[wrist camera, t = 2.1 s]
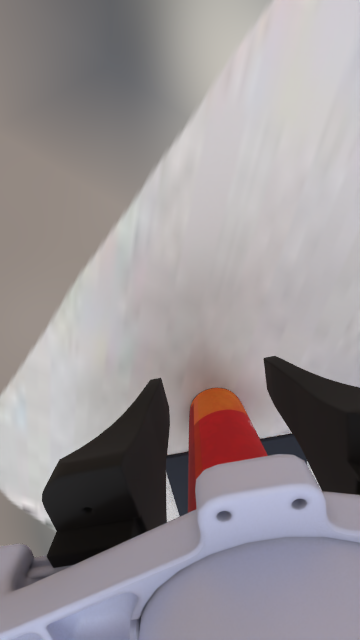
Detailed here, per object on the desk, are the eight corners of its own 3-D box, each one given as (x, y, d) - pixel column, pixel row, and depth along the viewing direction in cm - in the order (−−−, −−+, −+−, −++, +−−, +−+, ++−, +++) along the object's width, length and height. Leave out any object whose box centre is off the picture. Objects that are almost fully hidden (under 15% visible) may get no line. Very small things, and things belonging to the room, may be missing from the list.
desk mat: (303, 431, 28) (304, 434, 27) (311, 548, 34) (312, 552, 34) (162, 456, 29) (162, 459, 28) (195, 566, 35) (195, 569, 34)
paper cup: (224, 449, 28) (267, 634, 15) (166, 420, 27) (156, 595, 14) (267, 398, 26) (358, 561, 13) (206, 364, 25) (239, 507, 12)
